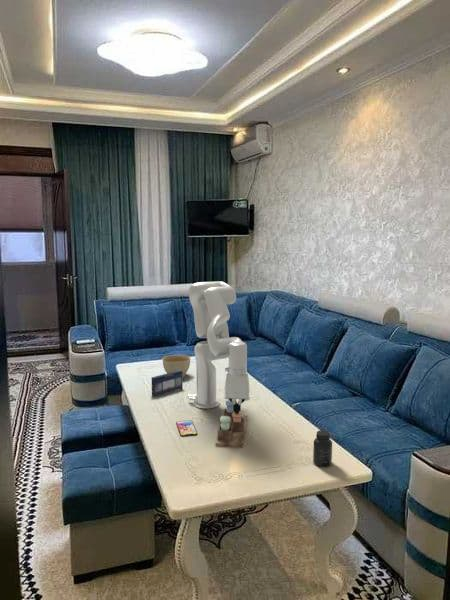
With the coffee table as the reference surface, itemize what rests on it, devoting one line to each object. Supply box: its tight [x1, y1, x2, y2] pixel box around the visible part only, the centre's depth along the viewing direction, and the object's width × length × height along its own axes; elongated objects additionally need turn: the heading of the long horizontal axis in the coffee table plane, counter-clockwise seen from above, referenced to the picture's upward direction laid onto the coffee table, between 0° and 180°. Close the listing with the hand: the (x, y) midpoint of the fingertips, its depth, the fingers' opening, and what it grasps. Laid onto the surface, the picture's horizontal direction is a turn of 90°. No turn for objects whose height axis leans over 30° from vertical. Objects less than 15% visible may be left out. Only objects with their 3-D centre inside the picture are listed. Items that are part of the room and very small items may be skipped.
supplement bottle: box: [312, 429, 333, 468], centre depth 177 cm, size 7×7×12 cm
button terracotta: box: [232, 411, 243, 422], centre depth 204 cm, size 4×4×6 cm
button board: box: [215, 408, 248, 448], centre depth 205 cm, size 10×29×5 cm, turn 173°
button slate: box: [225, 399, 234, 413], centre depth 213 cm, size 4×4×6 cm
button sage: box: [219, 415, 231, 431], centre depth 195 cm, size 4×4×6 cm
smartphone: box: [175, 419, 198, 438], centre depth 207 cm, size 7×1×15 cm
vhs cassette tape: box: [151, 370, 184, 398], centre depth 251 cm, size 18×3×10 cm, turn 131°
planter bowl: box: [162, 354, 191, 378], centre depth 277 cm, size 16×16×11 cm
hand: (237, 412), depth 204 cm, fingers closed
